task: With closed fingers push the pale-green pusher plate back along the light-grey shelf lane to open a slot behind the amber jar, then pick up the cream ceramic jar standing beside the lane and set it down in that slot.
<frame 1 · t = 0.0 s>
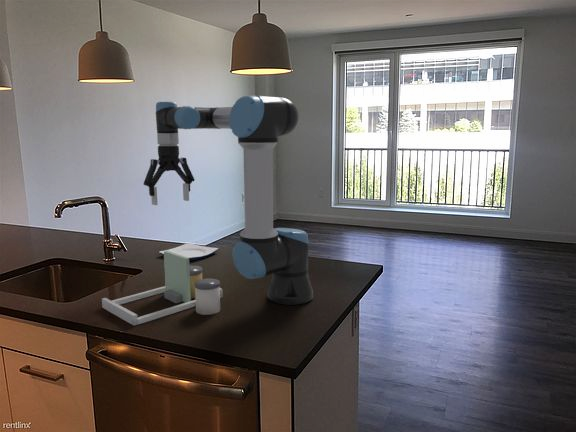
hand: (170, 202, 179), 28 cm above the worktop, fingers open, 13 cm apart
pusher: (173, 277, 157), point 8 cm above the worktop, slide at 0.0 cm
lane: (164, 302, 156), on the worktop
plate: (189, 256, 213), on the worktop
cream jar: (208, 310, 149), on the worktop
amber jar: (190, 294, 163), resting in lane
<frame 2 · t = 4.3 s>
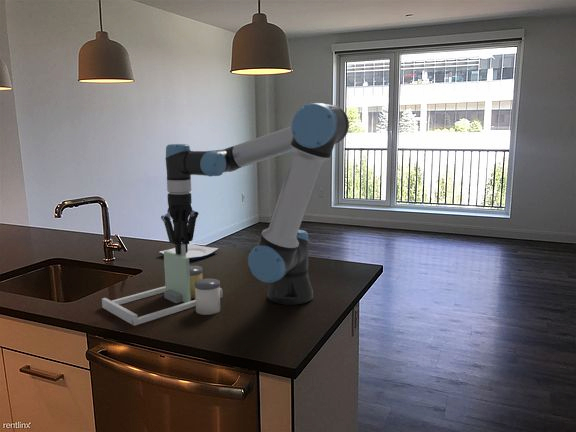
hand: (182, 263, 159), 12 cm above the worktop, fingers closed
pusher: (173, 277, 157), point 8 cm above the worktop, slide at 0.0 cm, touching gripper
everything else where it was.
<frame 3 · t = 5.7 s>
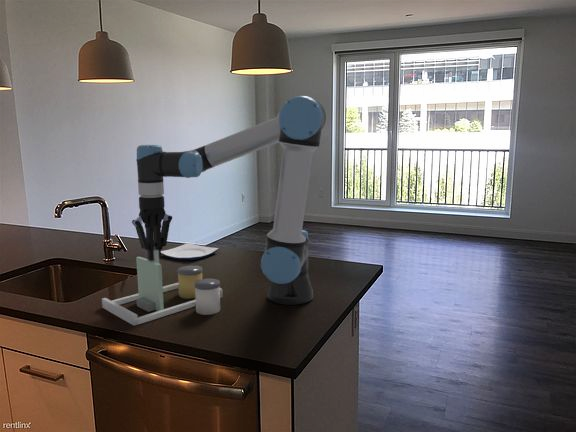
hand: (155, 269, 152), 12 cm above the worktop, fingers closed
pusher: (146, 284, 150), point 7 cm above the worktop, slide at 10.0 cm, touching gripper
everything else where it was.
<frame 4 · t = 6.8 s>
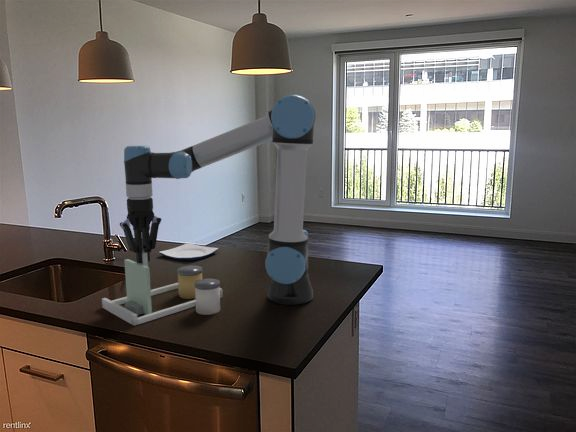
hand: (143, 272, 149), 12 cm above the worktop, fingers closed
pusher: (134, 287, 147), point 7 cm above the worktop, slide at 14.0 cm, touching gripper
everything else where it was.
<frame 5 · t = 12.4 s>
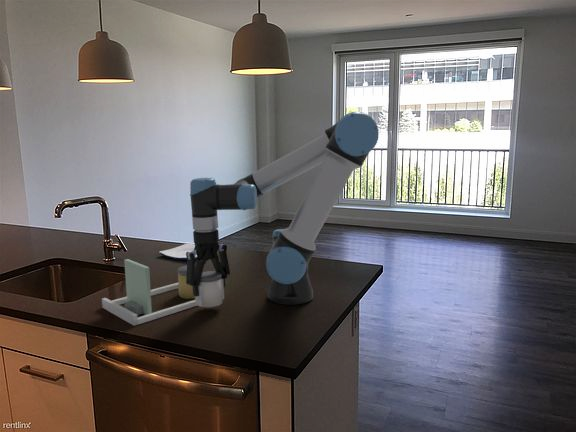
hand: (210, 301, 149), 3 cm above the worktop, fingers closed on cream jar, 7 cm apart
pusher: (134, 287, 147), point 8 cm above the worktop, slide at 14.1 cm
cream jar: (210, 302, 149), point 2 cm above the worktop, touching gripper
everything else where it was.
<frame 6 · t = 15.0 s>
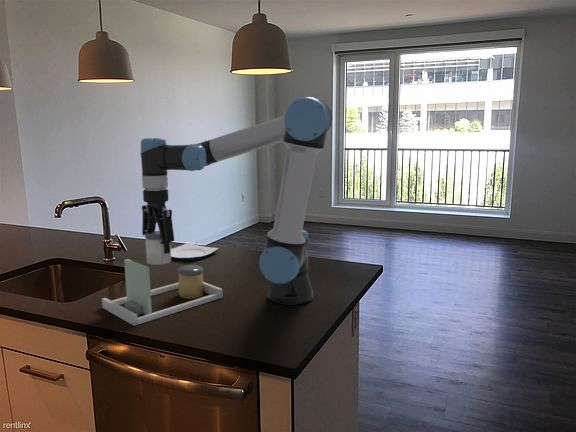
hand: (159, 260, 152), 14 cm above the worktop, fingers closed on cream jar, 7 cm apart
cream jar: (159, 261, 152), point 14 cm above the worktop, touching gripper
everything else where it was.
when the fingers open (2 cm above the worktop, at t = 17.4 s): cream jar drops 2 cm, resting in lane.
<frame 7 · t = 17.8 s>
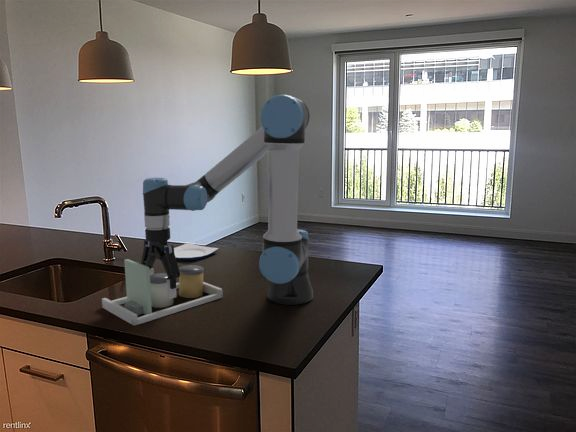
hand: (161, 293, 154), 3 cm above the worktop, fingers open, 12 cm apart
cream jar: (161, 303, 155), resting in lane
everything else where it was.
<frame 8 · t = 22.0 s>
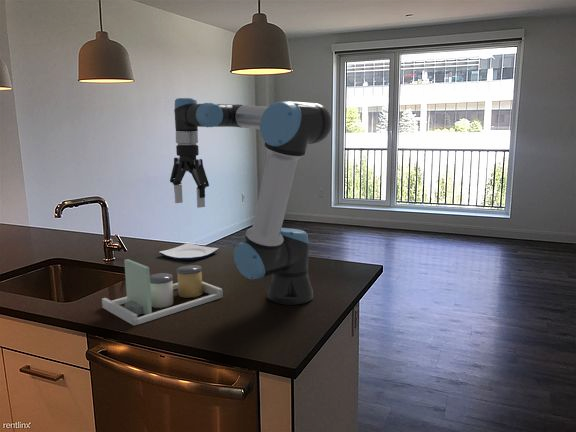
hand: (189, 205, 170), 29 cm above the worktop, fingers open, 13 cm apart
nothing on the worktop moved.
at the end: cream jar inside the target area on the lane (0.5 cm from its centre), point 0.0 cm above the lane's base; pusher slide at 14.1 cm; cream jar tilted 0° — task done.
